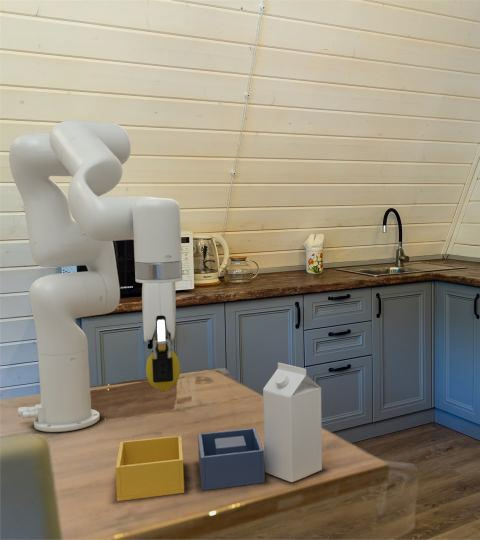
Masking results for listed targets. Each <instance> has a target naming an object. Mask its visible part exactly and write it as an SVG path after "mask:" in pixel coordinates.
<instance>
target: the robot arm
mask: <svg viewBox="0 0 480 540" xmlns="http://www.w3.org/2000/svg"><path fill="white" fill-rule="evenodd" d="M8 153H9V154H8V162H9V169H10V173H11V177H12V179H13V182H14V184H15V186H16V188H17V190H18V192H19V195H20V198H21V200H22V203H23V208H24V214H25V215H24V216H25V222H26V228H27V235H28V243H29V248H30V253H31V258H32V259H33V261H34V263H35V264H36V265H37V266H39V267H42V268H66V267H79V266H86V269H87V271H77V272H76V271H73V272H62V273H53V274H48V275H44V276H41V277H38V278H37V279H35V280H34V281H33V282H32V283H31V285H30V286H29V290H28V300H29V301H28V302H29V305H30V309H31V312H32V317H33V322H34V326H35V335H36V347H37V358H38V359H37V361H38V375H39V376H38V377H39V391H40V393H39V395H40V403H37V404H35V405H34V406H19V407H18V408H17V415H18V418H20V417H21V418H22V419H30V418H34V421H33V427H34V429H35V430H37V431H39V432H45V433H59V432H60V433H62V432H69V431H70V432H71V431H76V430H81V429H84V428H87V427H90V426H93V425H94V424H96V423H98V422H99V421H100V419H101V418H100V417H101V415H100V412H99V411H97V410H96V409H92V398H91V397H92V395H91V380H90V379H91V377H90V360H89V342H88V341H89V340H88V337H87V335H86V333H85V332H84V331H83V329H82V328H81V327H79V325H78V324H77V323H76V322H75V320H76V319H80V318H85V317H92V316H100V315H106V314H110V313H112V312H114V311H115V310H116V309H117V308H118V306H119V304H120V300H121V288H120V282H119V281H120V280H119V274H118V268H117V261H116V260H117V259H116V253H115V247H114V241H115V242H116V241H130V240H131V241H133V254H134V255H133V257H134V275H135V277H134V278H135V280H134V281H135V282H136V283H138V284H142V286H141V300H142V301H141V306H142V307H141V308H142V310H141V311H142V329H143V331H142V332H143V341H144V342H145V343H149V341H152V351H151V354H152V353H154V359H152V366H153V382H155V383H158V382H170V381H173V358H172V357H171V351H173V350H172V348H171V343H172V342H171V341H173V340H174V339H175V335H176V334H175V333H176V321H177V320H176V319H177V301H176V300H177V299H176V297H177V296H176V282H180V281H183V258H182V257H183V254H182V231H181V230H182V229H181V228H182V227H181V208H180V204H179V202H178V201H177V200H175V199H173V198H167V197H166V198H163V197H154V196H150V195H149V196H145V195H144V196H143V195H142V196H135V195H134V196H133V195H132V196H131V195H129V196H128V195H127V196H126V195H125V196H124V195H121V196H117V195H116V196H112V195H111V196H104V195H105V194H107V193H109V192H111V191H112V190H113V189H114V188H115V187H117V185H118V184H119V183H120V182H121V179H122V177H123V165H124V164H125V163H126V162H127V161H128V160H129V158H130V157H131V153H132V142H131V138H130V136H129V133H128V132H127V131H126V129H125V128H124V127H123V126H121V125H120V124H119V123H116V122H112V121H99V120H98V121H97V120H86V119H85V120H84V119H68V120H64V121H60V122H59V123H57V124H55V126H53V128H51V131H50V132H49V133H43V132H41V133H38V132H37V133H28V134H23V135H20V136H17V137H16V138H14V139H13V141H12V142H11V144H10V147H9V152H8ZM51 177H72V178H71V180H70V183H69V185H68V188H67V189H68V190H67V194H66V192H65V191H64V190H63V189H62V188H61V186H60V185H59V184H58V183H56V181H55V180H53V179H52V178H51ZM167 352H168V354H167ZM167 356H168V358H167Z"/></svg>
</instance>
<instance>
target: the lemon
mask: <svg viewBox="0 0 480 540" xmlns="http://www.w3.org/2000/svg"><path fill="white" fill-rule="evenodd" d="M167 354H168V352H167ZM171 357H172V358H173V381H170V382H158V383H155V382H153V366H152V359H154V353H152V352H151V354H150V355H149V356H148V358H147V361H146V365H145V374H146V379H147V381H148V383H149V384H150V385H151V386H152V387H153V388H155V389H157V390H159V391H160V392H161V393H166V392H167V391H168V390H169V389H170V388H173V386H175V385H176V383H178V380H179V378H180V374H181V364H180V360H179V358H178V356H177V354H176V353H175V352H174V351H173V350H172V351H171ZM167 358H168V356H167Z"/></svg>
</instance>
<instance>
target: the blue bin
mask: <svg viewBox="0 0 480 540" xmlns="http://www.w3.org/2000/svg"><path fill="white" fill-rule="evenodd" d="M237 436H243V437H244V440H245V443H246V452H239V453H230V454H221V455H215V442H214V439H218V438H228V437H237ZM197 447H198V448H197V449H198V452H197V453H198V468H199V476H200V485H201V491H210V490H218V489H225V488H233V487H240V486H241V487H242V486H250V485H257V484H264V483H265V482H266V479H265V475H266V473H265V452H264V447H263V444H262V442H261V439H260V436H259V434H258V431H257V428H256V427H250V428H249V427H248V428H241V429H239V428H238V429H230V430H221V431H212V432H202V433H197Z"/></svg>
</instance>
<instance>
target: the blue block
mask: <svg viewBox="0 0 480 540" xmlns="http://www.w3.org/2000/svg"><path fill="white" fill-rule="evenodd" d="M214 442H215V455H221V454H230V453H239V452H246V443H245V440H244V437H243V436H237V437H228V438H218V439H214Z"/></svg>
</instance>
